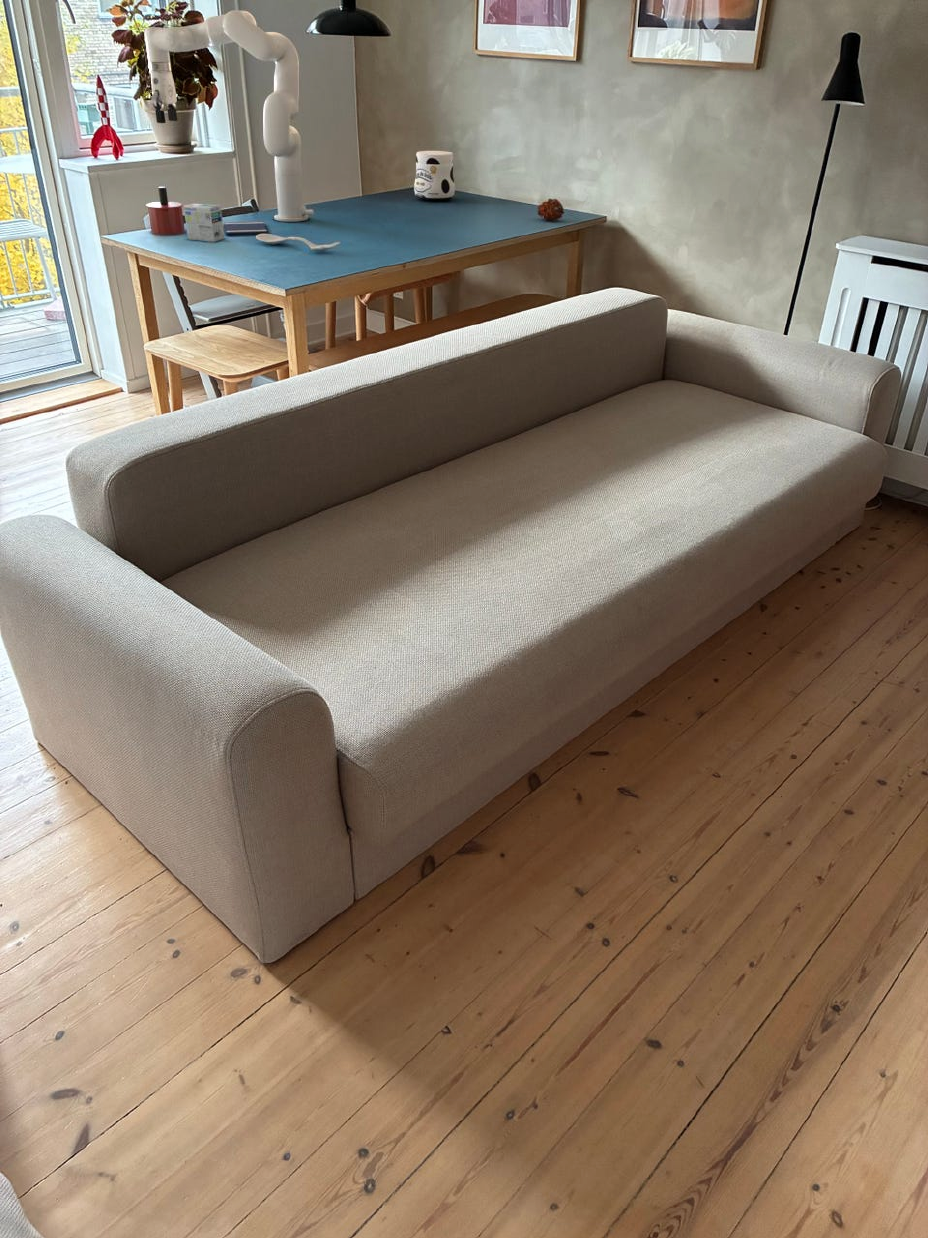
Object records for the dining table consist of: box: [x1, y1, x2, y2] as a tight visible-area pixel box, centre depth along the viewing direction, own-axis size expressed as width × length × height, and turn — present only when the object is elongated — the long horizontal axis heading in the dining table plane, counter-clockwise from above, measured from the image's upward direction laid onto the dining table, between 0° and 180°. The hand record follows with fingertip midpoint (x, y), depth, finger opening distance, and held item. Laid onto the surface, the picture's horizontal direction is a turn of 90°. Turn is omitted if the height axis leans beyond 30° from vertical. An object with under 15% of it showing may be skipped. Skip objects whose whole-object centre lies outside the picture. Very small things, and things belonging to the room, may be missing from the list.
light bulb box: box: [183, 202, 225, 243], centre depth 319 cm, size 11×7×11 cm, turn 71°
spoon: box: [255, 233, 341, 252], centre depth 311 cm, size 9×32×4 cm, turn 56°
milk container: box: [413, 150, 456, 202], centre depth 397 cm, size 17×17×18 cm
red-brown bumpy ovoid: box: [536, 198, 565, 222], centre depth 363 cm, size 8×8×12 cm
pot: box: [147, 206, 186, 236], centre depth 329 cm, size 11×17×8 cm
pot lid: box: [145, 186, 184, 209], centre depth 325 cm, size 12×12×7 cm
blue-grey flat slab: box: [223, 221, 269, 237], centre depth 337 cm, size 14×20×1 cm
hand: (167, 121), depth 347 cm, fingers open, 9 cm apart
